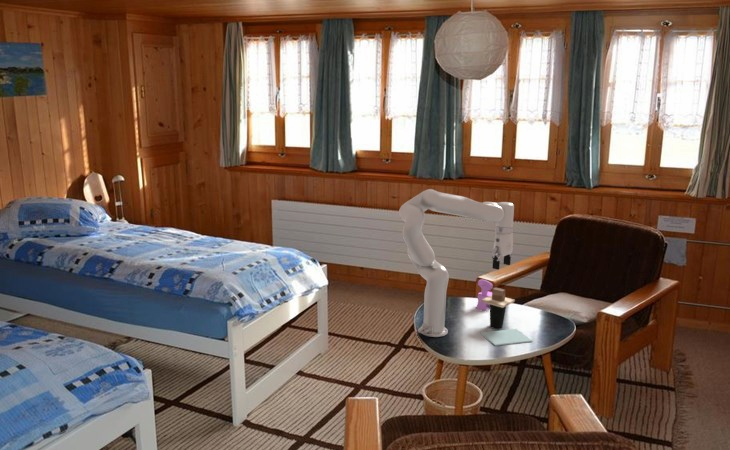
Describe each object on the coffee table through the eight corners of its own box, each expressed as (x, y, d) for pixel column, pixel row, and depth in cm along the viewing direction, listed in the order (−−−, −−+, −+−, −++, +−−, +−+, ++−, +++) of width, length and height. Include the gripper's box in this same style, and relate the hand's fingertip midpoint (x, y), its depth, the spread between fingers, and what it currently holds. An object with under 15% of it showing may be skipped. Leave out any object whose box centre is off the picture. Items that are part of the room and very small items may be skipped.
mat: (495, 345, 279) (495, 344, 279) (480, 333, 292) (480, 332, 292) (532, 341, 285) (532, 340, 284) (516, 330, 298) (516, 328, 298)
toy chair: (497, 307, 327) (499, 278, 324) (488, 311, 321) (490, 282, 317) (483, 303, 332) (484, 275, 329) (473, 307, 326) (475, 278, 323)
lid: (502, 307, 291) (503, 294, 290) (481, 301, 298) (482, 289, 297) (514, 301, 299) (515, 289, 298) (493, 296, 306) (494, 284, 305)
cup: (504, 330, 297) (506, 305, 294) (487, 328, 299) (489, 303, 296) (504, 324, 304) (506, 299, 302) (488, 322, 306) (489, 298, 303)
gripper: (501, 234, 283) (498, 272, 286) (520, 228, 295) (518, 264, 299) (486, 231, 288) (484, 268, 291) (506, 225, 300) (503, 261, 304)
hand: (501, 266), depth 295 cm, fingers open, 9 cm apart
